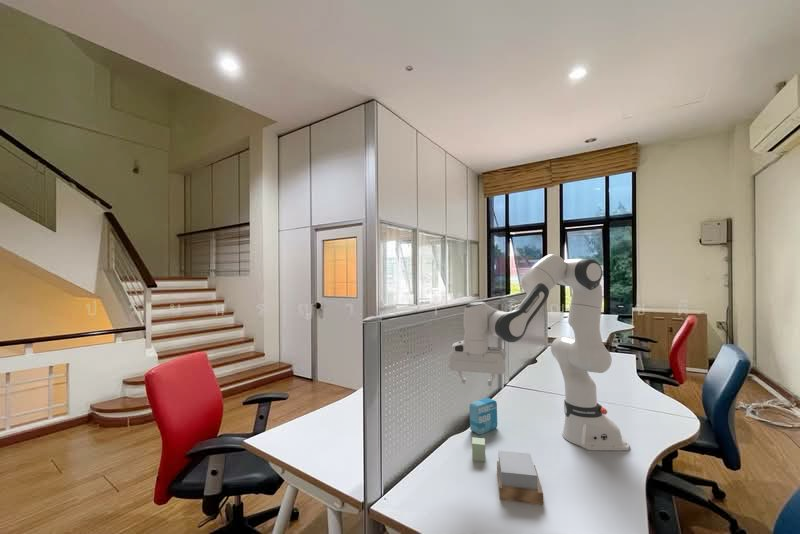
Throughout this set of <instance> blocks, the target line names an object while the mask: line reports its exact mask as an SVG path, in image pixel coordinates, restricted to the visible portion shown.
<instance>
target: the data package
mask: <svg viewBox="0 0 800 534" xmlns="http://www.w3.org/2000/svg"><path fill="white" fill-rule="evenodd" d="M469 427H470V429H469V430H471V431H472V432H473V433H475V434H478V435H482V434H485V433H487V432H491V431H493V430H496V428H497V427H498V403H497V401H496V400H495V399H492V398H489V397H484V398H481V399H478V400H475V401H472V402H471V403H470V404H469Z"/></svg>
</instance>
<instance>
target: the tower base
mask: <svg viewBox="0 0 800 534" xmlns="http://www.w3.org/2000/svg"><path fill="white" fill-rule="evenodd" d="M534 467H535V471H536V474H537V486H538V490H536V489H528V488H519V487H510V486H502V483H501V475H500V467H499V460H497V461H496V469H497V471H496V472H497V484H498V491H499V492H498V493H499V495H498V496H499V501H509V502H515V503H523V504H531V505H539V506H545V504H544V491H543V488H542V484H541V482H540V477H539V474H538V471H537V467H536V465H535V464H534Z"/></svg>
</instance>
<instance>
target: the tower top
mask: <svg viewBox="0 0 800 534" xmlns="http://www.w3.org/2000/svg"><path fill="white" fill-rule="evenodd" d="M498 461H499V467H500V475H501V483H502V486H510V487H519V488H528V489H536V490H538V486H537V474H538V473H537V474H536V471H535V467H536V466H535V467H534V465H535V464H534V461H533V458H532V455H531V453H530V452H521V451H520V452H519V451H508V450H498Z"/></svg>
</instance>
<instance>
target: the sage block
mask: <svg viewBox="0 0 800 534" xmlns="http://www.w3.org/2000/svg"><path fill="white" fill-rule="evenodd" d="M471 439H472V441H471V453H472V454H471V455H472V457H471V458H472V461H473V460H475V462H482V461H483V462H484V463H485V462H486V438H484V437H482V438H481V437H473V436H472V438H471Z"/></svg>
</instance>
